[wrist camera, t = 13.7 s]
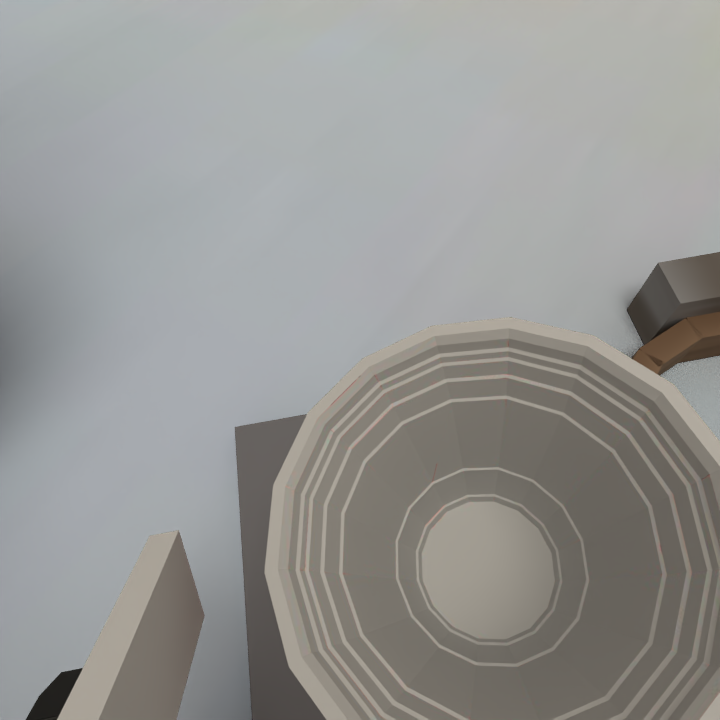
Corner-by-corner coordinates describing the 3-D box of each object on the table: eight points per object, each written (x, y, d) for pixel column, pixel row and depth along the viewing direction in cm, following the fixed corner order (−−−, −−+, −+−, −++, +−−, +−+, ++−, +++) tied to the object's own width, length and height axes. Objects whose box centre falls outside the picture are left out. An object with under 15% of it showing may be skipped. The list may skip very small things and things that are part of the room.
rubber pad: (260, 773, 21) (255, 777, 20) (238, 432, 27) (234, 427, 27) (617, 702, 21) (624, 704, 20) (509, 384, 28) (512, 377, 27)
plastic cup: (437, 397, 26) (411, 246, 15) (668, 524, 22) (853, 438, 11) (305, 601, 23) (161, 589, 13) (541, 791, 19) (624, 1015, 8)
